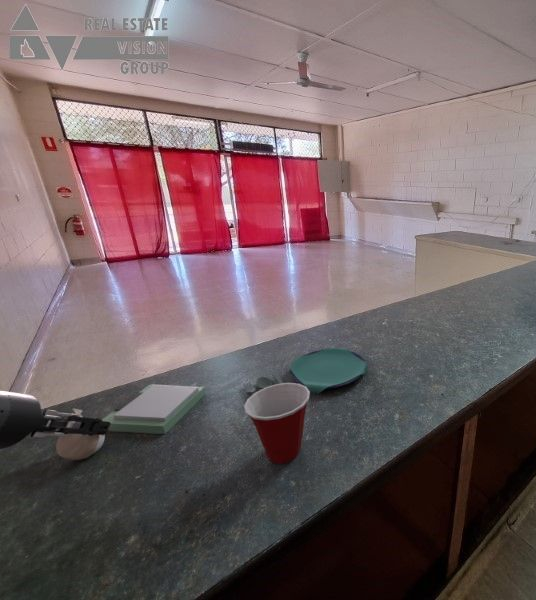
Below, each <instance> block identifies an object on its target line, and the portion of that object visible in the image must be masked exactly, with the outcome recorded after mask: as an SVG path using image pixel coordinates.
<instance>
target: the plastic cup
mask: <svg viewBox="0 0 536 600" xmlns="http://www.w3.org/2000/svg"><path fill="white" fill-rule="evenodd" d="M310 395H311V392H310V391H309V390H308V389H307V387H305V386H303V385H301V384H298V383H297V382H295V383H294V382H283V383H282V384H279V383H276V384H272V385H271V386H269V387H266V388H264V389H260V390H258V391H257V392H256V393H254V394H253V395H252V396H251V395H250V397H248V398H247V400H246V401H245V404H244V406H243V408H244V411H245V413H246V416H248V417H249V418H250V419H251V421H252V422H253V425H254V426H255V430H256V431H257V435H258V437H259V439H260V442H261V444H262V447H263V448H264V451H265V454H266V457H267V459H268V460H269V461H270V462H271V463H272V464H276V465H277V464H278V465H281V464H286V463H289V462H292V461H293V460H294V459H295V458H297V457H298V455H299V454H300V452H301V448H302V441H303V440H302V439H303V435H304V434H303V432H304V425H305V415H306V411H307V405H308V402H309V400H310Z"/></svg>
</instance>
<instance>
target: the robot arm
mask: <svg viewBox="0 0 536 600" xmlns="http://www.w3.org/2000/svg"><path fill="white" fill-rule="evenodd" d="M102 419H103V418H102ZM102 419H101V418H100V417H97V418H93V417H84V416H82V417H80V416H79V415H78V414H73V413H69V412H68V413H67V412H59V411H58V410H54V409H45V408H43V409H42V406H41V403H40V401H39V399H38V398H37V397H35V396H33V395H31V394H27V393H22V392H21V393H20V392H14V391H8V390H2V389H0V450H2V449H3V450H4V449H7V448H10V447H12V446H14V445H17V444H18V443H19V442H21V441H23V440H24V439H25V438H26V437H27V436H28V438H46V437H69V436H70V435H72V434H82V435H89V436H93V435H106V434H107V433H108V432H109V431H108V429H109V426H110V422H106V421H102Z"/></svg>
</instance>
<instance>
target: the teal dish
mask: <svg viewBox="0 0 536 600" xmlns="http://www.w3.org/2000/svg"><path fill="white" fill-rule="evenodd" d="M288 369H289V375H290V378H291V379H292V380H293V381H294V382H295V383H297V384H301V385H303V386H305V387H307V389H308V390H309V391H310V394H311V393H312V394H315V395H319V394H321V393H322V392H323V391H324V390H330V389H338V388H341V387H344V386H347V385H350V384H352V383H353V382H355V381H358V380H359V379H360V378H361V377H362V376H363V375H366V373H367V371H368V369H369V365H368V363H367V362H366V360H365V358H363V357H362V356H361V354H358V353H356V352H354V351H352V350H349V348H345V347H344V348H343V347H327V348H323V349H319V350H315V351H311V352H309V353H306V354H303V355H301V356H298V357H297V358H296V359H294V361H293V362H292V363H291V364H290V366H289V367H288ZM271 375H272V377H273V378H274V379H275V381H276V382H277V384H282V383H284V382H283V380H282V379H281V378H280V377H279V375H278V374H276V373H271ZM255 382H256V387H258V388H260V390H262V389H264V388H266V387H269V386H272V385H273V383H272V379H270V378H269V377H266V376H260V377H258V378H257V379H256V381H255ZM242 385H243V387H244V389H245V392H246V395H248V396H250V397H251V396H252V395H253V394H254V393H256V392H258V391H257V388H256V387H254V385H253V384H252V383H251V382H250V381H248V382H245V383H243V384H242Z"/></svg>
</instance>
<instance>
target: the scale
mask: <svg viewBox="0 0 536 600" xmlns="http://www.w3.org/2000/svg"><path fill="white" fill-rule="evenodd" d="M206 394H207V393H206V389H205V386H190V385H169V384H148V385H147V386H145V387H144V388H143V389H141V390H140V391H138V392H136V393H135V394H133V395H132V396H130V397H129V398H128V399H127V400H125V401H124V402H123V403H121V404H120V405H118V406H117V407H116V408H114V410H112V412H110V413H109V414H107V415H106V416H105V417H103V418H102V421H106V422H110V426H109V429H108V431H107V432H116V433H118V432H119V433H135V434H151V435H152V434H153V435H166V434H167V433H168V432H169V431H170V430H171V429H172V428H173V427H174V426H175V425H176V424H178V422H179V421H180V420H181V419H182V418H183V417H185V415H186V414H187V413H188V412H189V411H190V410H191V409H193V407H194V406H196V405H197V403H198V402H199V401H201V400H202V399H203V398H204V397H205V396H206Z"/></svg>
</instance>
